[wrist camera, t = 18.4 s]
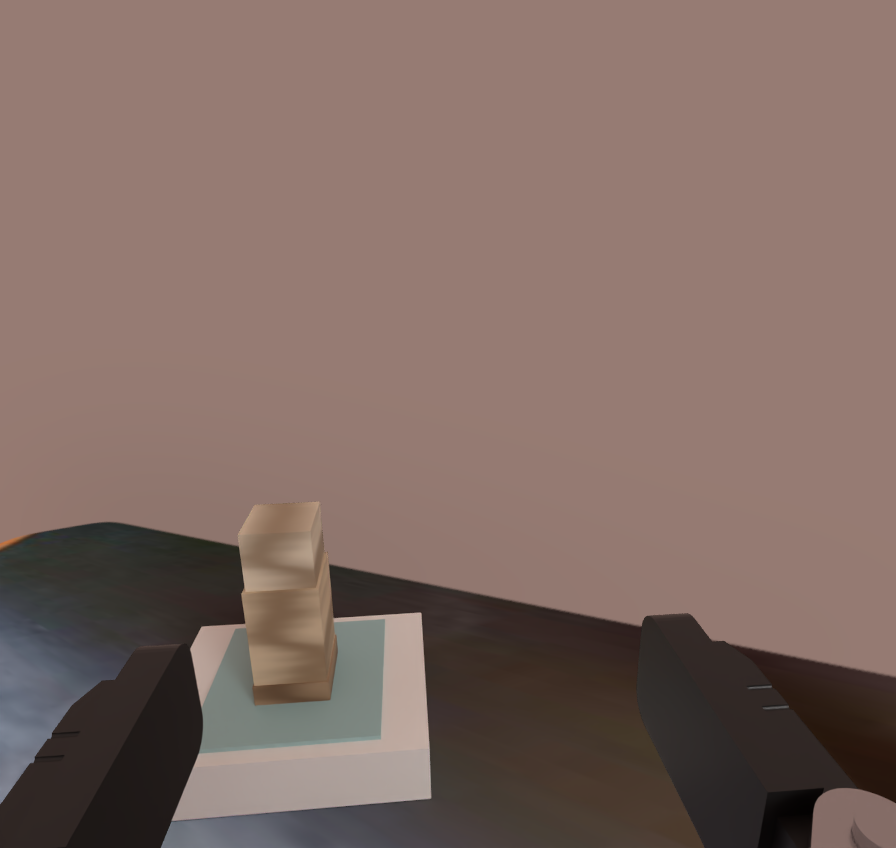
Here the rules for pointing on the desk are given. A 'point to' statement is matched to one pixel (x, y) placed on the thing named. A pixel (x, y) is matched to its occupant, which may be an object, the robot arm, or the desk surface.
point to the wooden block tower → (288, 604)
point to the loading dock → (312, 726)
